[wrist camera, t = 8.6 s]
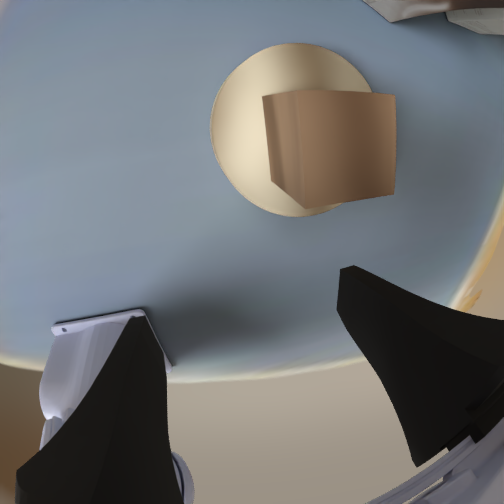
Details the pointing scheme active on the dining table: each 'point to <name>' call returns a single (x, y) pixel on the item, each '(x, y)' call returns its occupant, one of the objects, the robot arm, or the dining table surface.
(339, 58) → the birch board
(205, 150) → the dining table surface
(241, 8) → the dining table surface
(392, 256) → the dining table surface
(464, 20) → the supplement box
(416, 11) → the coffee box
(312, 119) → the walnut block
